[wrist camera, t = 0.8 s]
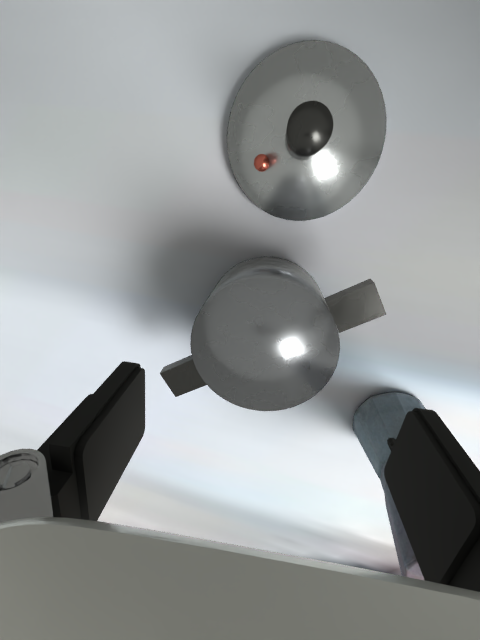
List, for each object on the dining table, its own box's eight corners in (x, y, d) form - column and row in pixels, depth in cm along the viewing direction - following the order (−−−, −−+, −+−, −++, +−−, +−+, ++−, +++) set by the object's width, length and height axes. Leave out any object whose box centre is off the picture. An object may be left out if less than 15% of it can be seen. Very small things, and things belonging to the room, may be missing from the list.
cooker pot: (333, 216, 31) (354, 225, 22) (376, 325, 34) (408, 367, 26) (161, 302, 36) (127, 334, 28) (214, 388, 40) (198, 439, 32)
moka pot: (383, 471, 42) (467, 686, 24) (317, 394, 39) (355, 577, 20) (452, 440, 39) (608, 660, 21) (387, 354, 36) (506, 526, 17)
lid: (349, 7, 25) (372, -51, 19) (402, 175, 29) (434, 171, 23) (202, 106, 29) (183, 83, 23) (267, 243, 33) (265, 254, 27)
